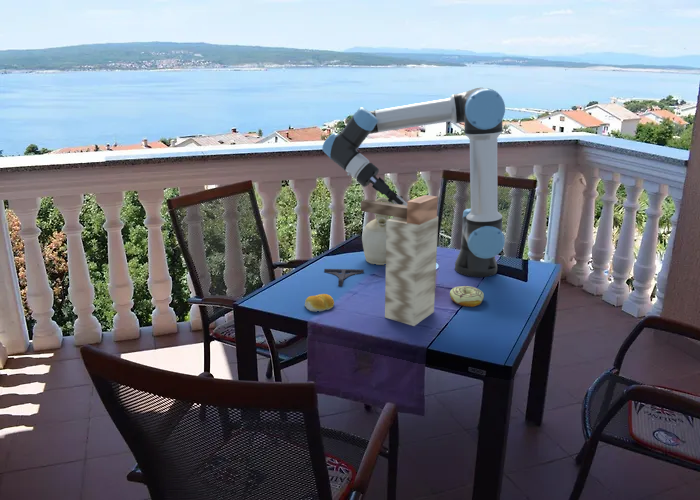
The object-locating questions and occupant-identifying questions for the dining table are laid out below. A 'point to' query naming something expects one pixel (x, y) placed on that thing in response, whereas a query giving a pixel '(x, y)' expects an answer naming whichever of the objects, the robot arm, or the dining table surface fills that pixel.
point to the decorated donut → (467, 296)
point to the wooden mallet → (405, 209)
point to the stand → (410, 270)
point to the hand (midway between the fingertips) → (412, 213)
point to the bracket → (343, 273)
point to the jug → (375, 238)
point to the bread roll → (319, 302)
